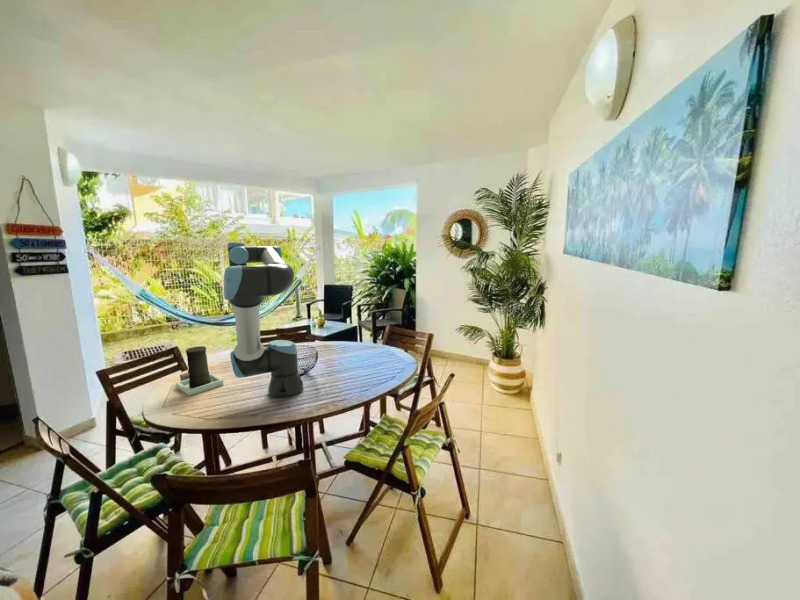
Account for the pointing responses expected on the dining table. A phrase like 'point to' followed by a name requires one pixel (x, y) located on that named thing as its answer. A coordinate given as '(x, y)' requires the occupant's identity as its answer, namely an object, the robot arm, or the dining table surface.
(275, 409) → the dining table surface
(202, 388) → the tray
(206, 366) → the container
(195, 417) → the dining table surface
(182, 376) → the walnut block
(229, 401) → the dining table surface
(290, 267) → the robot arm
